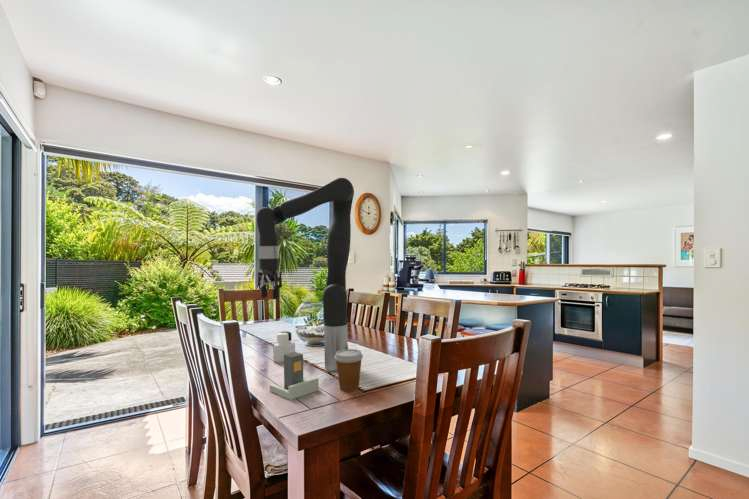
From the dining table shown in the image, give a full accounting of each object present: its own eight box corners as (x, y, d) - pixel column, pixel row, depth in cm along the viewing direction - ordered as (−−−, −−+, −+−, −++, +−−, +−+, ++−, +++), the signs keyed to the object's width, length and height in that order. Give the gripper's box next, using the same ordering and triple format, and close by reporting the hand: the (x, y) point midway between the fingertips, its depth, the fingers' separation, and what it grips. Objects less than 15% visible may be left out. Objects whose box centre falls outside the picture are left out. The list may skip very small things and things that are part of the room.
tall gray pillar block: (284, 390, 124) (283, 354, 124) (295, 387, 127) (295, 351, 127) (292, 394, 121) (291, 357, 121) (303, 390, 124) (303, 354, 124)
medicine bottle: (280, 357, 164) (279, 330, 164) (295, 357, 163) (295, 330, 163) (273, 362, 156) (272, 333, 157) (289, 362, 156) (289, 334, 156)
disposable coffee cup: (357, 394, 119) (357, 357, 119) (330, 392, 122) (329, 355, 122) (367, 384, 128) (366, 349, 128) (341, 382, 131) (340, 348, 131)
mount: (269, 390, 124) (269, 378, 124) (297, 381, 132) (297, 370, 132) (290, 400, 116) (290, 387, 116) (318, 389, 124) (318, 377, 124)
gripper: (287, 257, 146) (287, 298, 146) (267, 257, 156) (268, 296, 156) (270, 257, 141) (270, 300, 141) (251, 257, 151) (252, 297, 151)
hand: (269, 298), depth 148 cm, fingers open, 8 cm apart
